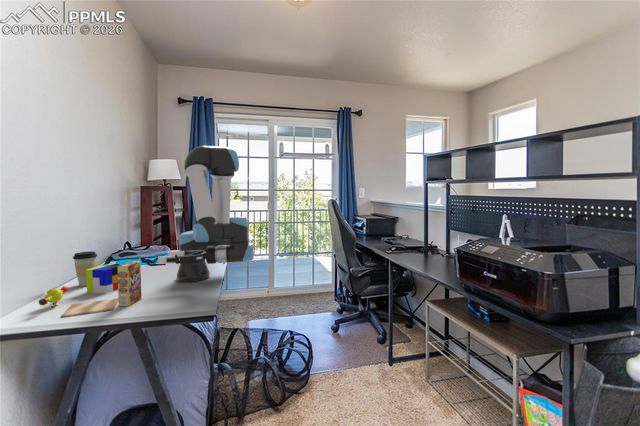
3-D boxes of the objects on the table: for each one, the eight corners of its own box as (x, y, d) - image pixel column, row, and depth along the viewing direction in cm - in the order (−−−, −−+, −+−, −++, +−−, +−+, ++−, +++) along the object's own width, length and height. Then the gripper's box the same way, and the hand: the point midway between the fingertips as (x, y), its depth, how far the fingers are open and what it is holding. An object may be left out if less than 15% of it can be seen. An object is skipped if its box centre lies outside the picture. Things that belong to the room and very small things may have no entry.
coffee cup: (73, 284, 153) (71, 253, 152) (97, 280, 159) (95, 250, 158) (75, 288, 146) (73, 255, 145) (100, 284, 152) (98, 252, 151)
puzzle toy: (106, 293, 138) (105, 270, 137) (87, 292, 140) (85, 269, 139) (125, 286, 148) (124, 265, 147) (106, 285, 150) (105, 264, 149)
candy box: (129, 306, 121) (127, 265, 120) (118, 306, 121) (115, 266, 120) (142, 298, 130) (140, 260, 129) (131, 299, 130) (129, 261, 129)
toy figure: (57, 299, 130) (56, 283, 130) (73, 298, 132) (72, 281, 132) (31, 315, 113) (30, 296, 113) (50, 313, 115) (49, 295, 114)
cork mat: (118, 299, 129) (118, 298, 129) (112, 310, 117) (112, 308, 117) (72, 305, 123) (72, 304, 123) (61, 317, 111) (61, 315, 111)
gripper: (212, 269, 127) (154, 272, 123) (221, 258, 151) (172, 261, 148) (211, 249, 126) (152, 253, 123) (220, 242, 151) (171, 244, 147)
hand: (163, 257), depth 135 cm, fingers open, 13 cm apart
